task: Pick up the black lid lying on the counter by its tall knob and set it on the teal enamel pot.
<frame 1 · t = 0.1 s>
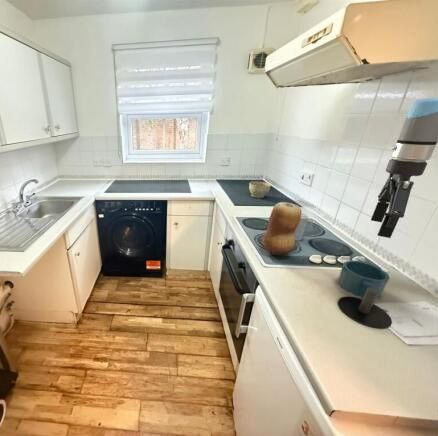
hand: (379, 228, 75), 28 cm above the worktop, tool pointing down, fingers open, 13 cm apart
clear glass cylinder: (292, 236, 130), on the worktop
pot: (357, 288, 90), on the worktop
lid: (363, 312, 78), point 1 cm above the worktop
planter bowl: (257, 196, 196), on the worktop
butternut squash: (275, 253, 114), on the worktop
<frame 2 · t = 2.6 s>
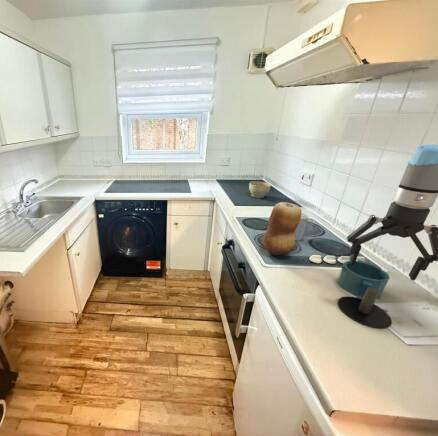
hand: (380, 270, 72), 17 cm above the worktop, tool pointing down, fingers open, 13 cm apart
nothing on the worktop moved.
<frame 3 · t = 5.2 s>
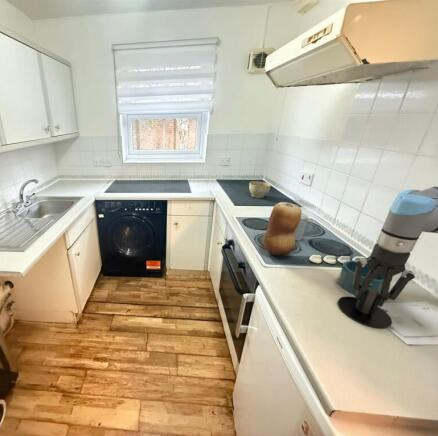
hand: (364, 309, 78), 2 cm above the worktop, tool pointing down, fingers closed on lid, 3 cm apart
lid: (363, 312, 78), point 1 cm above the worktop, touching gripper
everything else where it was.
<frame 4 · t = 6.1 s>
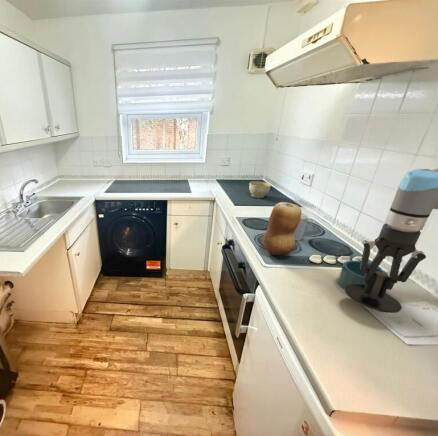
hand: (372, 293, 75), 8 cm above the worktop, tool pointing down, fingers closed on lid, 3 cm apart
lid: (371, 298, 76), point 7 cm above the worktop, touching gripper, pot
everything else where it was.
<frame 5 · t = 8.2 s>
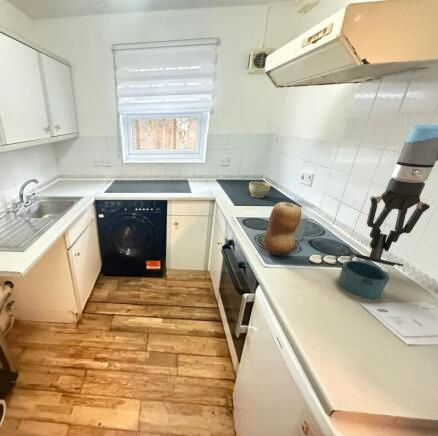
hand: (378, 247, 80), 19 cm above the worktop, tool pointing down, fingers closed on lid, 3 cm apart
lid: (374, 259, 81), point 15 cm above the worktop, tilted 23°, touching gripper
everything else where it was.
when the fingers open (12 cm above the worktop, at t = 10.3 s): lid stays where it is, resting on pot.
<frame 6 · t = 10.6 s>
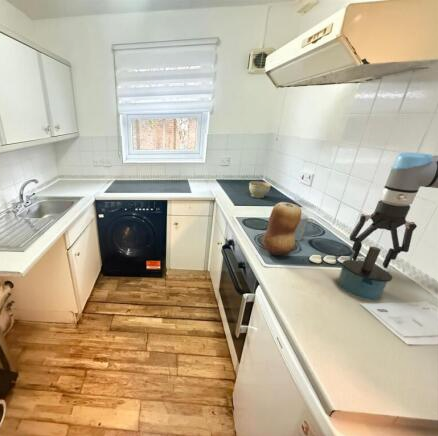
hand: (369, 262, 85), 12 cm above the worktop, tool pointing down, fingers open, 8 cm apart
lid: (365, 270, 85), point 9 cm above the worktop, touching pot
everything else where it was.
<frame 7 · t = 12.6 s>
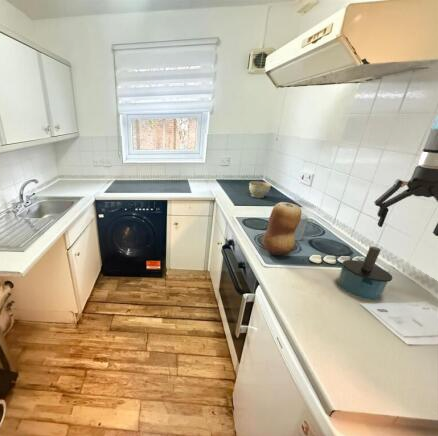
hand: (406, 229, 80), 25 cm above the worktop, tool pointing down, fingers open, 13 cm apart
nothing on the worktop moved.
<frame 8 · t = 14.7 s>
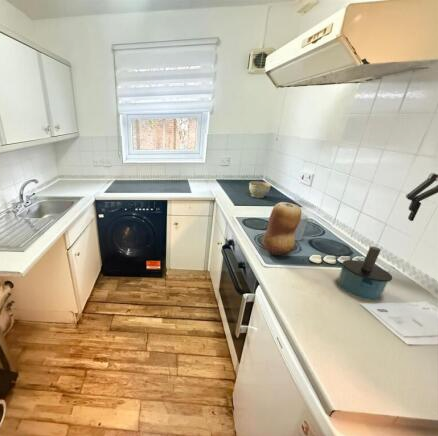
nothing on the worktop moved.
at the end: lid 1.5 cm off-centre on the pot, point 9.0 cm above the pot's base; lid tilted 5° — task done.
